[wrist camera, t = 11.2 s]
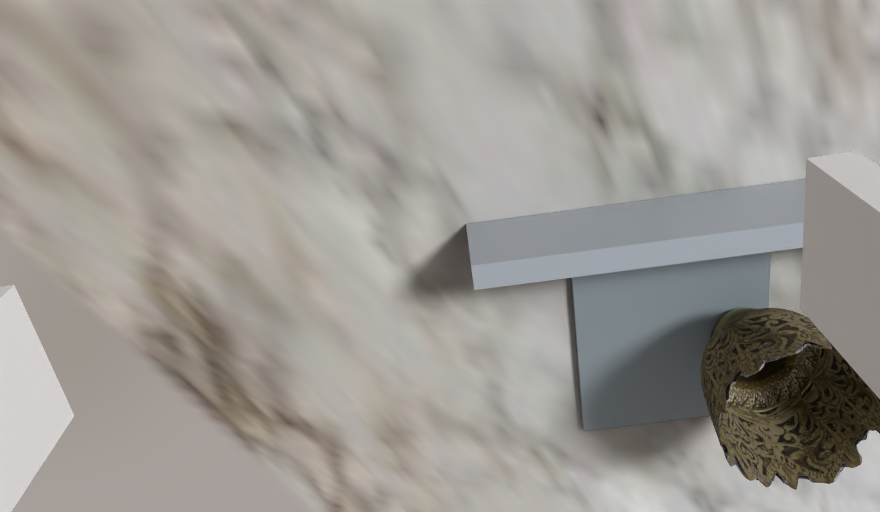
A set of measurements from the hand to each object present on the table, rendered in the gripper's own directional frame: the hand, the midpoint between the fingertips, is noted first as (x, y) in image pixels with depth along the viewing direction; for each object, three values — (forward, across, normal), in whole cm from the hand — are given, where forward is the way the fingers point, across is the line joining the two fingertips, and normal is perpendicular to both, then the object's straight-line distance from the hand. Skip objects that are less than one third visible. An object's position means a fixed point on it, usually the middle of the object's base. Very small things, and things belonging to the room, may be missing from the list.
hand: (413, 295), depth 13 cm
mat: (+24, +10, -18) cm, 31 cm away
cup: (+24, +14, -18) cm, 33 cm away
